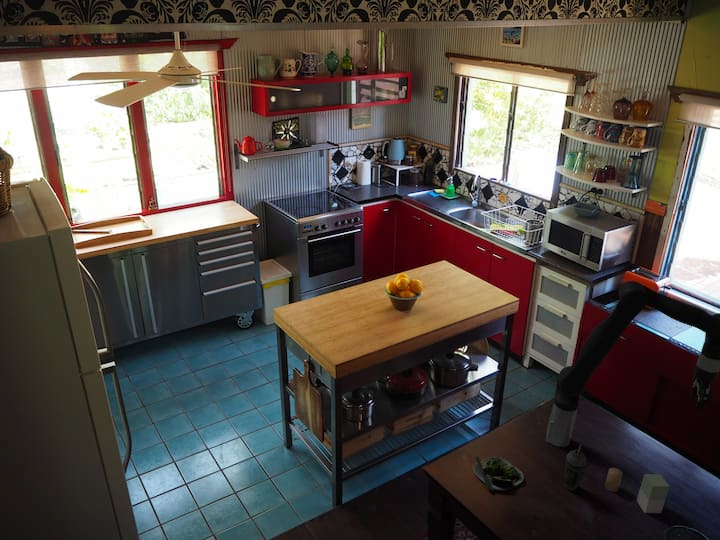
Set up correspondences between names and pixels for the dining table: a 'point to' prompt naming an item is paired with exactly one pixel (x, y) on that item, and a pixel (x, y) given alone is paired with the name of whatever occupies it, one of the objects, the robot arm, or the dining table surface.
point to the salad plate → (498, 473)
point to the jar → (613, 479)
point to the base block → (649, 503)
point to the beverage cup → (574, 469)
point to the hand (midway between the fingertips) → (696, 403)
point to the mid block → (654, 486)
